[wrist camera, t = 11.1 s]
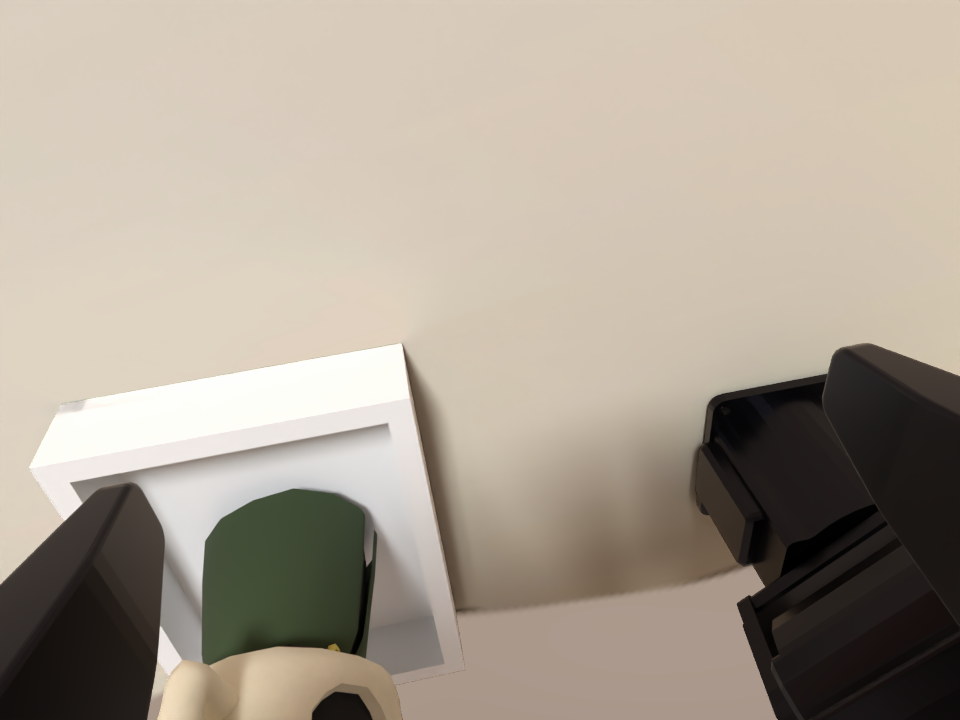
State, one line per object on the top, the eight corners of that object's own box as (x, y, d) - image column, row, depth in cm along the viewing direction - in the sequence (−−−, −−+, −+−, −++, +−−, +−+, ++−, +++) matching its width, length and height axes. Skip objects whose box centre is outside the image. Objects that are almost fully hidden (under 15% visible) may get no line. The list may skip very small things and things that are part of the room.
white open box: (401, 343, 23) (409, 397, 21) (455, 610, 32) (465, 669, 30) (61, 404, 23) (28, 468, 20) (212, 661, 31) (202, 727, 29)
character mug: (428, 585, 30) (478, 970, 20) (273, 638, 30) (241, 1046, 20) (320, 403, 24) (311, 834, 13) (125, 472, 24) (-39, 949, 13)
